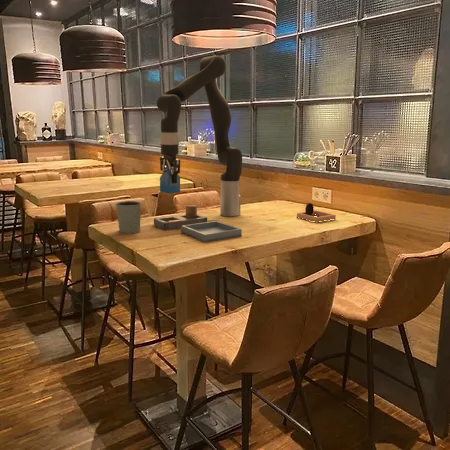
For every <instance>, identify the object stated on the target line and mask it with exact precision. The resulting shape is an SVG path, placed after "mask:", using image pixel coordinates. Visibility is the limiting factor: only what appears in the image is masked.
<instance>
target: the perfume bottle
mask: <svg viewBox="0 0 450 450" xmlns="http://www.w3.org/2000/svg"><path fill="white" fill-rule="evenodd" d="M166 165H167V167H166V170H167V172H162V174H161V175H160V177H159V192H161V193H164V194H176V193H181V177H180V176H179V173H178V174H177V183H172V173H171V170H169V166H168V164H166Z"/></svg>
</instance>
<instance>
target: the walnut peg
mask: <svg viewBox="0 0 450 450" xmlns="http://www.w3.org/2000/svg"><path fill="white" fill-rule="evenodd" d="M197 212H198V205H196V204H186V205H185V215H186V218H187V219H194V218H197V214H198V213H197Z"/></svg>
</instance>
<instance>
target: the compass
mask: <svg viewBox="0 0 450 450" xmlns="http://www.w3.org/2000/svg"><path fill="white" fill-rule="evenodd" d="M313 211H314V205H313V203H311V202H308V203H306V205H305V211H304V212H306V214H307V215H310V216H317V217H321V216H322V215H312V214H313Z"/></svg>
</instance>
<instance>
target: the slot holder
mask: <svg viewBox="0 0 450 450" xmlns="http://www.w3.org/2000/svg"><path fill="white" fill-rule="evenodd" d="M204 222H208V217H207V216H204V215H202V214H198V213H197V218H194V219H187V218H186V214H179V215H174V216H173V215H172V216H164V217H163V216H162V217H156V218H153V225H154V227H155V226H156V227H157V228H160V229H162V230H164V231H168V230H174V229H181V226H183V225H190V224H197V223H204Z"/></svg>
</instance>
